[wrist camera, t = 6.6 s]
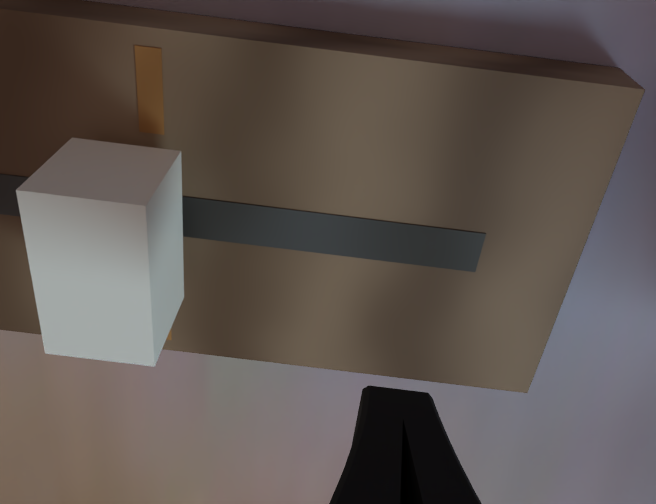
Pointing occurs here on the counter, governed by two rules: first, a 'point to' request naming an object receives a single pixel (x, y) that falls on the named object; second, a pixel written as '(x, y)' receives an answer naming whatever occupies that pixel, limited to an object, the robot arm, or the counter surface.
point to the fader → (105, 249)
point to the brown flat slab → (328, 181)
